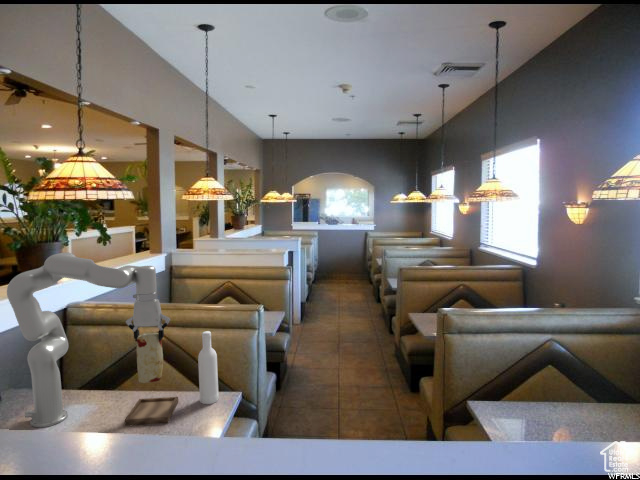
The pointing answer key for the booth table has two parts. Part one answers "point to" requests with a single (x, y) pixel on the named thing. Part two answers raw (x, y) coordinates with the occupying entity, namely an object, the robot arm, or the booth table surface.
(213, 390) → the bottle
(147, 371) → the food model
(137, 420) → the serving board
